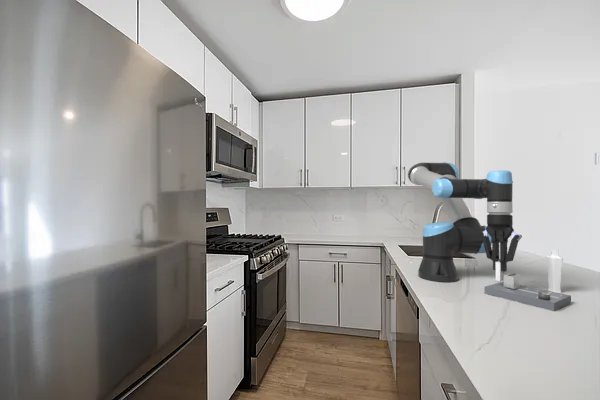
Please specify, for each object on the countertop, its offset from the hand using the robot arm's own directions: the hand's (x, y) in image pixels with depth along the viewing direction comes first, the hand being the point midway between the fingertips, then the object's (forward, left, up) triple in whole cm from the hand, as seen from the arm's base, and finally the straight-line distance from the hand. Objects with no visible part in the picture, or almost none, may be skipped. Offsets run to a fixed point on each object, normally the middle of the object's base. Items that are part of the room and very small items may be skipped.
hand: (499, 280), depth 102 cm
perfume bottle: (+10, +19, -4) cm, 22 cm away
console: (+8, 0, -4) cm, 9 cm away
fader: (+4, 0, -1) cm, 4 cm away
